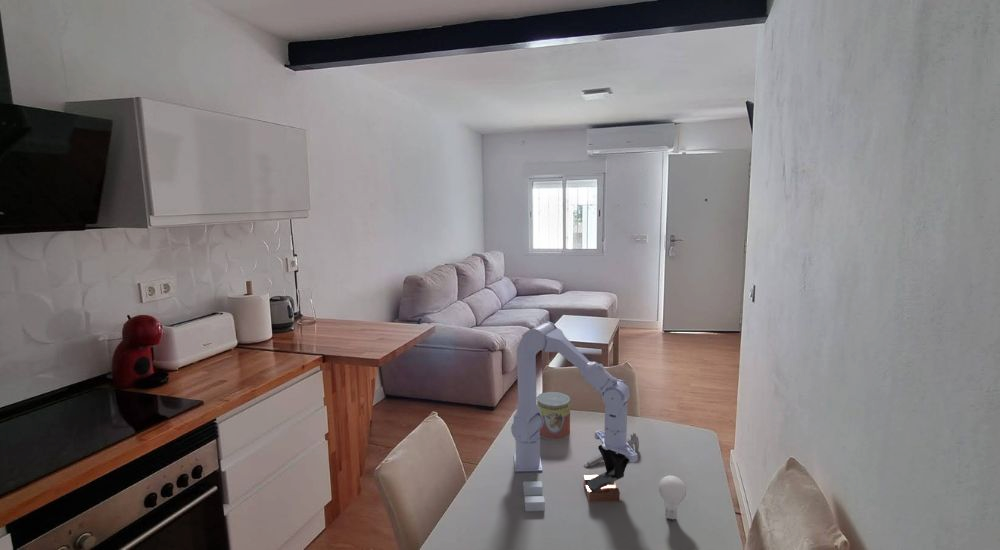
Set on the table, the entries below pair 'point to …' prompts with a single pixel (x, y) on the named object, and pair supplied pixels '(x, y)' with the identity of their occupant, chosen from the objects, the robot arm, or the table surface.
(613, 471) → the axle
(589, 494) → the v block
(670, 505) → the lightbulb
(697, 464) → the table surface
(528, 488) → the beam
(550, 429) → the canned food
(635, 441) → the caliper
